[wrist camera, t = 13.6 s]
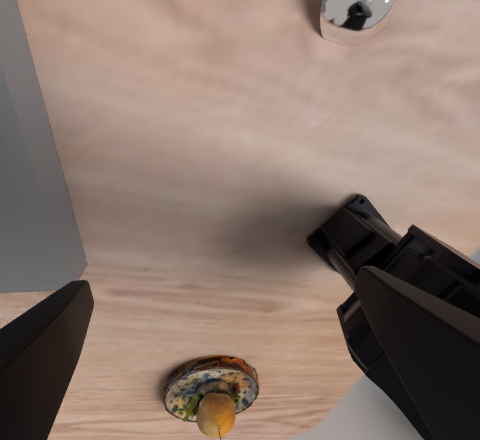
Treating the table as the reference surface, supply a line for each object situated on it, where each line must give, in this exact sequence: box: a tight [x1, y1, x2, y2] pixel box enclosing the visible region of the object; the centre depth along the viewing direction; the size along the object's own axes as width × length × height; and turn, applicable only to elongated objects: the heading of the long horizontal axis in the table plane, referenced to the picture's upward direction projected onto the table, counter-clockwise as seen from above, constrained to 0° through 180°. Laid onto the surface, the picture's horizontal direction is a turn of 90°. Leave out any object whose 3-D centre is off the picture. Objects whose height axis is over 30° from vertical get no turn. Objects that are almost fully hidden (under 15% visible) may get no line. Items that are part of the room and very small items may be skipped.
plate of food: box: [164, 355, 259, 440], centre depth 30 cm, size 12×12×8 cm
